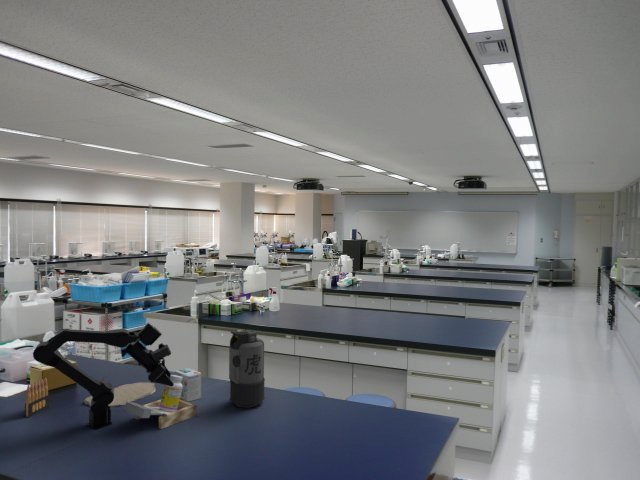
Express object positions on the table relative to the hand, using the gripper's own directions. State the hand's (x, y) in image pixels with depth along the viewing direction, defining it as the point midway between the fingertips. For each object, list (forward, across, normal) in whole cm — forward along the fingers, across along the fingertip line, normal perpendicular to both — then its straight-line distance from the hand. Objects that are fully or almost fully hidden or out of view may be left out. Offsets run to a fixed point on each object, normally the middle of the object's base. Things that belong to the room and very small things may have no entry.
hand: (172, 381), depth 183 cm
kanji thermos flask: (+30, +4, -12) cm, 33 cm away
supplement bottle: (+6, 0, +9) cm, 11 cm away
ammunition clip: (-25, +19, +44) cm, 54 cm away
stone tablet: (-3, +28, +22) cm, 36 cm away
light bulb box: (+14, +19, +4) cm, 24 cm away
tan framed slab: (+8, -1, +11) cm, 13 cm away
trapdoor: (+3, -3, +12) cm, 13 cm away
